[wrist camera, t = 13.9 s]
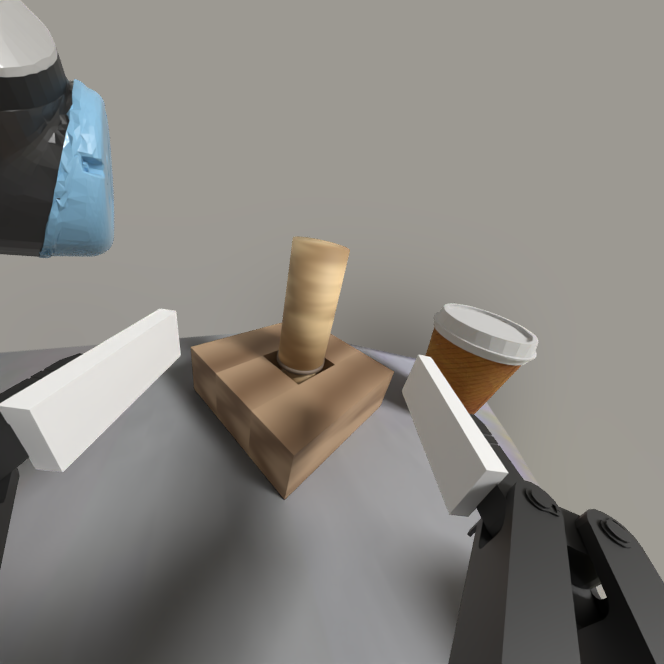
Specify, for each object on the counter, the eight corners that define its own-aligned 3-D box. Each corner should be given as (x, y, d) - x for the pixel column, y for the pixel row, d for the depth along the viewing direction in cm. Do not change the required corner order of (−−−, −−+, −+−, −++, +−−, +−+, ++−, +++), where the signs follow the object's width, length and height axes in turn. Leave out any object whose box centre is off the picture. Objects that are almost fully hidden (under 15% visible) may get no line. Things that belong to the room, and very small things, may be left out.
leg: (262, 395, 25) (278, 234, 17) (295, 378, 28) (320, 238, 21) (291, 423, 22) (324, 251, 15) (323, 401, 26) (362, 252, 19)
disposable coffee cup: (468, 459, 23) (544, 360, 18) (386, 400, 28) (425, 309, 23) (486, 413, 30) (545, 331, 24) (418, 373, 35) (454, 297, 29)
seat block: (194, 388, 24) (190, 347, 21) (297, 348, 34) (302, 317, 32) (284, 499, 17) (294, 455, 14) (380, 406, 27) (394, 371, 25)
